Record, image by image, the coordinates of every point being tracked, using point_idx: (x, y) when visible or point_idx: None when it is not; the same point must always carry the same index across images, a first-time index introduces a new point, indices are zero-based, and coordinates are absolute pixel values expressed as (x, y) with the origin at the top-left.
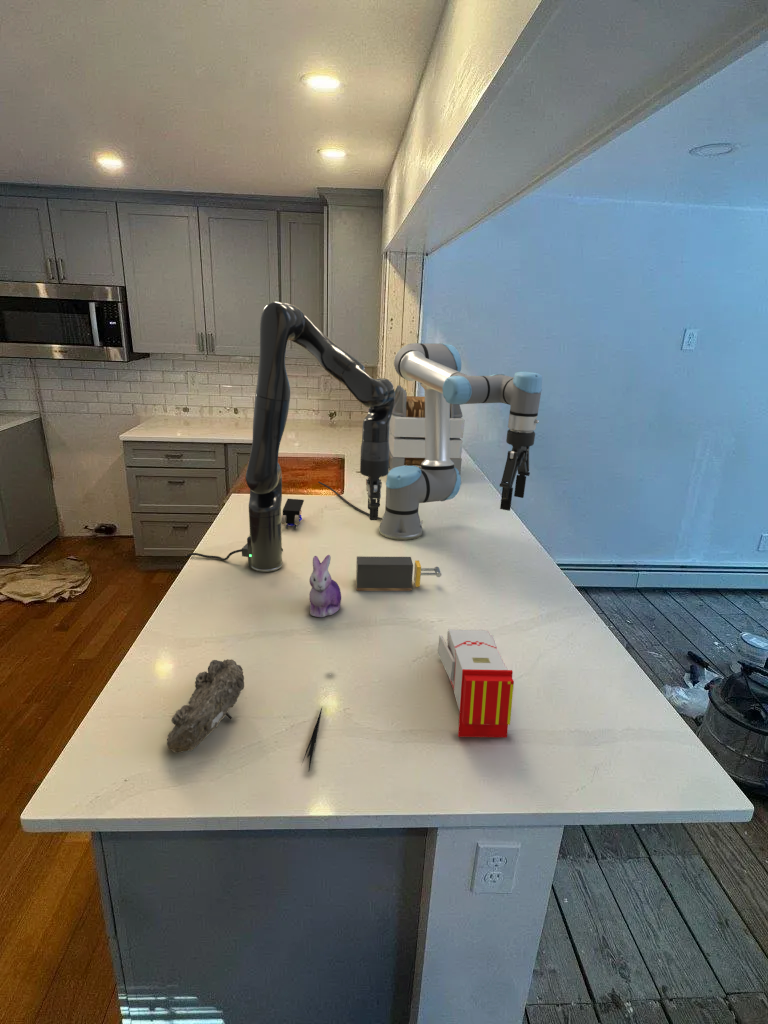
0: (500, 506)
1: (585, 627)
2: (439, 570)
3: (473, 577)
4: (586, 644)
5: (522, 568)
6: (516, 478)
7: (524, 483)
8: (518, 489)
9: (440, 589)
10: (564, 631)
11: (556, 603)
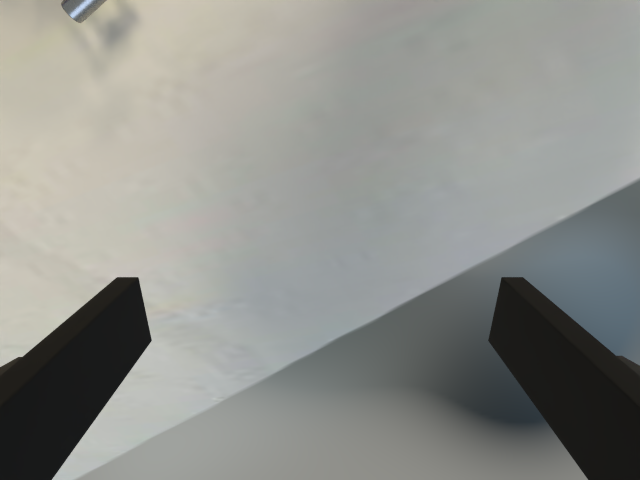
0: (106, 288)
1: (189, 391)
2: (85, 3)
3: (262, 102)
4: (128, 401)
5: (409, 214)
6: (632, 405)
7: (567, 446)
8: (533, 344)
9: (113, 36)
10: (144, 365)
11: (253, 330)
